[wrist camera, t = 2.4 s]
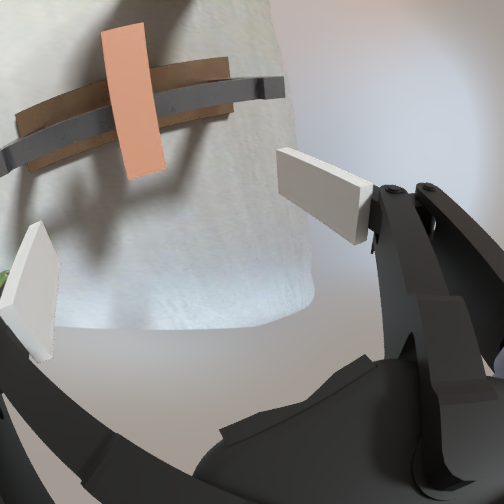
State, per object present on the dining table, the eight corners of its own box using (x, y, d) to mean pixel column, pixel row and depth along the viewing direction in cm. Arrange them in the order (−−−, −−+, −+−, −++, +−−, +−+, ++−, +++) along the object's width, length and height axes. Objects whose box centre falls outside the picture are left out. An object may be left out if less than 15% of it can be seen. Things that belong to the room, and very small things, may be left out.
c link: (121, 150, 29) (128, 180, 20) (103, 53, 22) (100, 31, 13) (147, 143, 30) (166, 168, 21) (131, 46, 23) (143, 22, 14)
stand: (32, 170, 29) (-7, 220, 17) (17, 113, 24) (-36, 131, 12) (230, 111, 38) (296, 127, 26) (224, 57, 33) (291, 45, 21)
